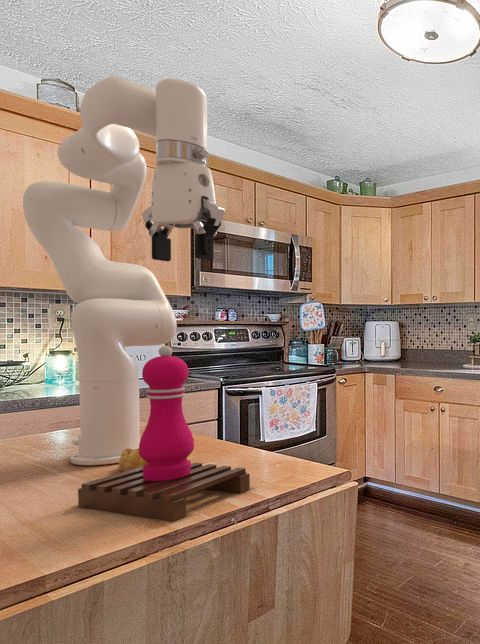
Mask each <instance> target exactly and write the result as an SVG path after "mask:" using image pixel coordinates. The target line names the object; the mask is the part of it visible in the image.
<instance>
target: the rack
mask: <svg viewBox="0 0 480 644" xmlns="http://www.w3.org/2000/svg"><path fill="white" fill-rule="evenodd" d="M143 467H144V466H143ZM143 467H139V468H136V469H132V470H129V471H121V472H118V473H115V474H111V475H108V476H104V477H101V478H97V479H94V480H90V481H87V482H83V483H81V484H80V485H81V486H80V488H77V502H78V503H77V505H78V507H81V508H88V509H93V510H100V511H105V512H106V511H107V512H112V513H119V514H125V515H132V516H138V517H145V518H151V519H157V520H163V521H170V522H175V521H177V520H180V519H182V518H185V517H186V516H187V498H186V496H188V495H191V494H194V493H196V492H199V491H202V490H204V489H206V490H213V491H215V490H216V491H223V492H229V493H238V494H241V493H244V492H246V491H249V490H250V484H251V483H250V481H251V480H250V478H251V477H250V473H249V472H247V468H245V467H235V468H232V466H229V465H221V466H218V467H217V464H212V463H208V464H205V465H203V463H201V462H191V473H190V474H189V475H187V476H184V477H182V478H178V479H173V480H168V481H147V480H144V478H143Z"/></svg>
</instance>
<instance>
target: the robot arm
mask: <svg viewBox="0 0 480 644" xmlns="http://www.w3.org/2000/svg"><path fill="white" fill-rule="evenodd" d="M79 117H80V122H81V125H82V127H81V128H79V129H78V130H76V131H74V132H73V133H72V134H70V135H68V136H67V137H66V138H64V139H63V140H62V141H61V142H60V143H59V144H58V145H59V146H58V147H57V158H58V161H59V162H60V164H61V165H62V167H63V168H64V169H66V170H67V171H68V172H70V173H71V174H73V175H74V176H75V175H76V176H77V177H80V178H83V179H86V180H90V181H94V182H99V183H100V182H101V183H105V184H109V185H112V186H111V189H110V191H104V190H100V189H96V188H90V187H87V186H80V185H76V184H73V183H67V182H61V181H54V180H53V181H52V180H51V181H50V180H43V181H37V182H33V183H31V184H29V185H27V187H26V188H25V190H24V192H23V196H22V210H23V214H24V218H25V221H26V224H27V226H28V229H29V230H30V232H31V233H32V235H33V237H34V238H35V239H36V241H37V242H38V244H39V245H41V247H42V248H43V249H44V251H45V252H46V253H47V254H48V256H49V258H50V260H51V263H52V265H53V266H54V268H55V271H56V273H57V275H58V277H59V279H60V282H61V284H62V286H63V288H64V290H65V293H66V294H67V295H68V297H69V298H70V299H71V300H72V301H73V302H75V303H76V306H75V307H74V308H73V309H72V312H71V315H70V323H71V329H72V333H73V337H74V341H75V346H76V353H77V362H78V381H79V383H78V384H79V385H78V387H79V428H80V431H79V432H80V434H79V435H78V438H77V437H75V438H73V439H72V441H71V444H72V445H73V446H78V452H75V453H73V454H72V455H71V456H70V463H71V464H72V465H76V466H102V465H103V466H104V465H111V464H112V465H113V464H119V461H120V457H121V454H122V451H123V450H124V449H132V450H135V449H137V448H139V444H140V440H141V416H140V415H141V411H140V372H139V366H138V364H137V362H136V360H135V359H134V358H133V357H132V355H131V354H130V353H129V352H128V351H127V350H126V348H127V347H129V348H130V347H149V346H150V347H151V346H161V345H162V346H163V345H166V344H168V343H170V342H171V341H172V340H173V339H174V338H175V336H176V334H177V329H178V324H177V317H176V314H175V312H174V309H173V308H172V305H171V304H170V301H169V300H168V298H167V296H166V294H165V292H164V291H163V288H162V286H161V285H160V282H159V281H158V279H157V277H156V275H155V274H154V273H153V272H152V271H151V270H149V268H147V267H146V266H143V265H140V264H135V263H127V262H119V261H112V260H109V259H108V258H106V257H105V256H104V254H103V252H102V250H101V248H100V246H99V245H98V244H97V242H96V241H95V240H94V239H93V238H92V237H90V236H89V235H88V234H87V233H85V232H84V231H82V230H81V229H79V228H87V229H94V230H100V231H105V232H119V231H122V230H124V229H126V227H127V226H128V224H129V223H130V221H131V219H132V216H133V213H134V211H135V208H136V206H137V203H138V201H139V198H140V196H141V193H142V190H143V188H144V186H145V185H144V184H145V181H146V180H147V179H146V178H147V174H148V173H147V171H148V167H147V162H146V159H145V157H144V156H143V155H142V154H141V153H140V141H139V138H138V135H136V133H135V132H139V133H141V134H145V135H148V136H151V137H154V138H155V167H154V172H153V178H152V186H151V200H150V201H151V205H150V206H149V207H148V208H146V209H145V210H144V211H142V213H141V215H142V218H143V221H144V223H145V224H144V225H145V228H146V229H147V231H148V236H150V237H151V259H152V260H153V261H162V262H171V260H172V240H171V238H169V236H170V234H171V232H173V229H174V228H175V229H195V230H196V231H197V233H195V234H194V257H195V258H196V259H198V260H199V259H200V260H204V261H205V260H206V261H213V260H214V255H215V254H214V253H215V252H214V251H215V249H214V245H215V244H214V240H215V239H214V237H217V235H218V230H219V229H220V228H221V225H222V220H223V219H224V216H225V213H226V209H225V208H223V207H221V206H220V205H218V204H217V202H216V201H217V200H216V189H215V184H214V179H213V173H212V171H211V168H210V167H208V158H209V156H210V152H209V151H208V98H207V95H206V92H205V91H204V90H203V89H202V88H201V87H199V86H198V85H197V84H194V83H192V82H191V81H187V80H184V79H179V78H163V79H161V80H159V81H158V82H157V84H156V86H155V89H152V88H149V87H147V86H144V85H142V84H139V83H137V82H134V81H131V80H129V79H126V78H124V77H123V78H122V77H118V76H108V77H105V78H103V79H102V80H99V81H98V82H96V83H95V84H93V85H92V86H91V87H89V88H88V89H87V91H86V92H85V93H84V95H83V98H82V100H81V103H80V110H79ZM78 227H79V228H78ZM162 227H163V228H162Z"/></svg>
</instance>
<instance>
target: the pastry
mask: <svg viewBox="0 0 480 644" xmlns="http://www.w3.org/2000/svg"><path fill="white" fill-rule="evenodd" d="M145 465H147V462H146V461H145V460H143V459H142V458H141V457H140V455H139V448H137V449H135V450H132V449H124V450H123V451H122V454H121V457H120V461H119V463H118V466H117V470H119V471H121V472H125V471H129V470H132V469H136V468H139V467H143V466H145Z"/></svg>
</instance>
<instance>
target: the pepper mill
mask: <svg viewBox="0 0 480 644" xmlns="http://www.w3.org/2000/svg"><path fill="white" fill-rule="evenodd" d="M158 354H159V356H155V357H153V358H150V359H149V360H148V361H146V363H145V364H144V366H143V367H142V370H141V371H142V373H141V377H142V380H143V381H144V383H145V384H146V385H148V388H147V389H146V390H145V391H146V393H147V394H146V398H147V399H149V404H150V405H149V406H150V407H149V408H150V410H149V416H148V421H147V424H146V426H145V428H144V431H143V432H142V435H141V436H140V444H139V455H140V457H141V458H142V459H143V460H145V461H146V462H147V465H145V466H144V467H143V478H144V480H147V481H168V480H173V479H178V478H182V477H184V476H187V475H189V474H190V473H191V464H192V461H191V460H190V459H188V457H189V456H190V455H191V454H192V453H193V451H194V450H195V440H194V436H193V433H192V431H191V429H190V427H189V425H188V422H187V421H186V418H185V415H184V412H183V411H184V410H183V398H184V397H185V396H186V393H185V390H186V387H185V386H183V385H184V384H185V383H186V381H187V380H188V378H189V373H190V372H189V367H188V364H187V363H186V362H185V360H183V359H181V358H180V357H177V356H174V355H172V354H173V349H172V347H170V346H169V345H162V346H160V347H159V348H158Z"/></svg>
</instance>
